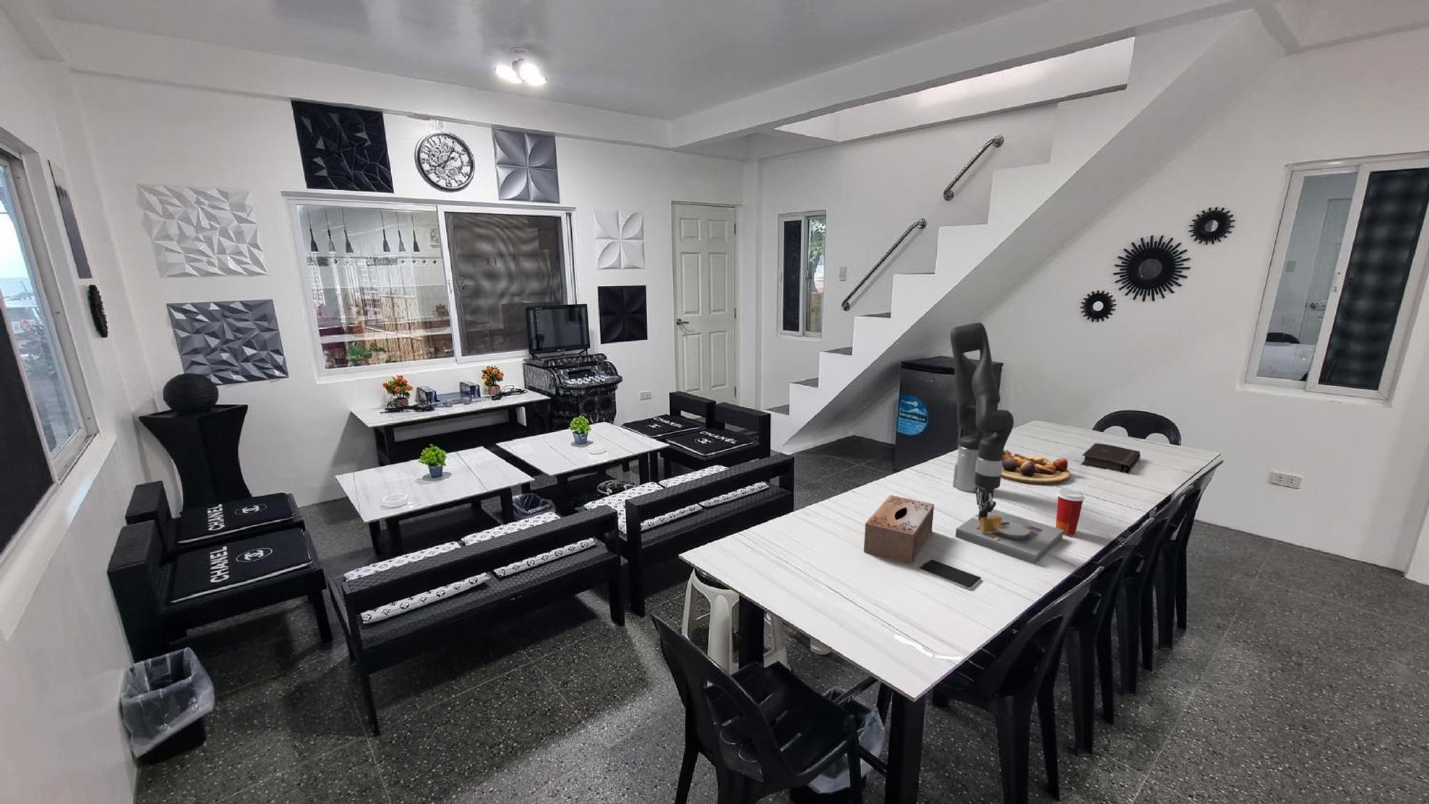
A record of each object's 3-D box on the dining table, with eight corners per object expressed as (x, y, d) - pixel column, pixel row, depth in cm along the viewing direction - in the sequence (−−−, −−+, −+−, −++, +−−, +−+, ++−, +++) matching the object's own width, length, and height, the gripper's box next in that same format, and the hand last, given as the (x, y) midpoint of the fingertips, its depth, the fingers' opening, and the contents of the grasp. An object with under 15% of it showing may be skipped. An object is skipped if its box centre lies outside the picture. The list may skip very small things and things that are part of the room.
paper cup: (1075, 528, 190) (1081, 489, 187) (1081, 538, 183) (1088, 498, 180) (1049, 525, 193) (1054, 486, 189) (1054, 535, 186) (1060, 495, 182)
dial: (1010, 521, 191) (1013, 504, 189) (1039, 537, 179) (1041, 520, 178) (967, 527, 187) (969, 510, 185) (994, 544, 175) (996, 526, 174)
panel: (955, 536, 185) (956, 527, 184) (986, 515, 201) (987, 506, 200) (1034, 564, 168) (1035, 554, 167) (1062, 538, 183) (1063, 529, 182)
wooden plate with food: (1071, 467, 247) (1073, 449, 245) (1069, 491, 220) (1071, 471, 219) (990, 456, 264) (991, 439, 262) (979, 477, 237) (981, 458, 236)
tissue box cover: (911, 565, 168) (913, 535, 166) (863, 552, 176) (865, 523, 174) (931, 531, 189) (934, 504, 187) (888, 521, 197) (890, 495, 195)
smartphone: (931, 558, 171) (981, 577, 160) (930, 562, 171) (981, 580, 160) (918, 568, 165) (969, 588, 155) (917, 572, 166) (969, 592, 155)
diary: (1139, 461, 255) (1141, 450, 254) (1129, 476, 238) (1131, 464, 236) (1091, 451, 268) (1093, 441, 266) (1078, 465, 250) (1080, 454, 249)
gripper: (1008, 479, 173) (1001, 531, 177) (993, 464, 185) (987, 512, 190) (982, 478, 174) (976, 529, 178) (969, 463, 186) (964, 511, 191)
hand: (982, 520), depth 184 cm, fingers closed
